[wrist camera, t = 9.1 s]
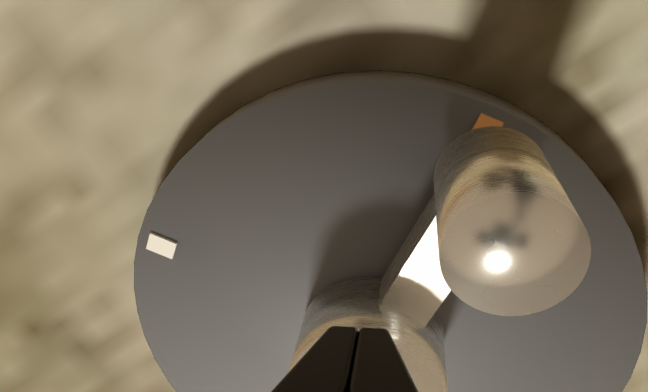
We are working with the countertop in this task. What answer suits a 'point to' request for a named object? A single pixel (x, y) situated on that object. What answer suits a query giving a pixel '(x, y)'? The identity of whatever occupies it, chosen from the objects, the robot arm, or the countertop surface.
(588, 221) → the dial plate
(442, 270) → the silver dumbbell
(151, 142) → the countertop surface
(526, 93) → the countertop surface
